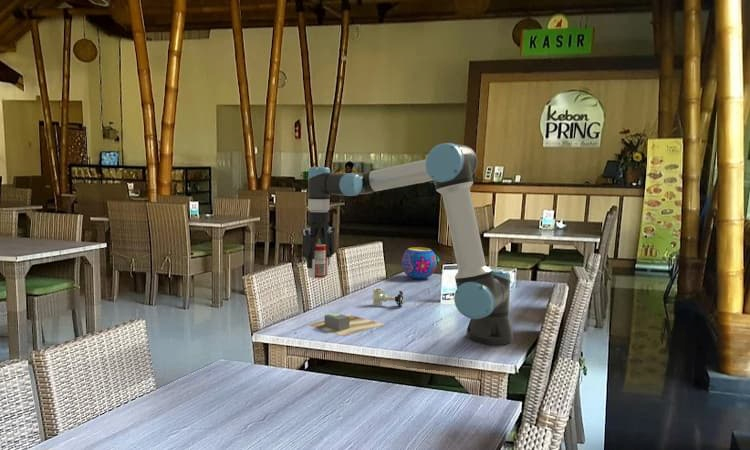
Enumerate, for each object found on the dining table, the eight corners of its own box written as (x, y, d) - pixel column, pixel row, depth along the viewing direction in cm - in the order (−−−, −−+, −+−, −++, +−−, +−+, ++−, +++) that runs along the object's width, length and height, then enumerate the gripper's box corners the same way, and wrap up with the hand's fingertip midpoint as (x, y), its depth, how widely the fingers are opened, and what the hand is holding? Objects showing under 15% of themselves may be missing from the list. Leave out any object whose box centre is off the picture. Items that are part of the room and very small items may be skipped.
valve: (370, 306, 228) (399, 309, 225) (370, 290, 227) (400, 292, 224) (374, 303, 234) (403, 305, 231) (374, 287, 233) (403, 289, 231)
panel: (385, 327, 199) (385, 324, 198) (343, 339, 184) (343, 336, 184) (348, 317, 211) (348, 314, 211) (307, 328, 196) (307, 324, 196)
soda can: (317, 275, 207) (317, 242, 205) (329, 276, 204) (329, 243, 202) (307, 277, 202) (307, 243, 201) (319, 279, 199) (319, 245, 198)
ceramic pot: (443, 280, 284) (444, 250, 283) (413, 283, 275) (414, 252, 274) (423, 273, 299) (424, 245, 298) (394, 276, 290) (395, 247, 289)
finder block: (349, 328, 193) (349, 315, 192) (338, 331, 189) (338, 318, 189) (335, 324, 197) (335, 311, 197) (324, 326, 194) (324, 314, 193)
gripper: (331, 209, 210) (330, 271, 212) (291, 211, 196) (290, 277, 199) (345, 210, 204) (344, 274, 207) (304, 213, 191) (304, 281, 194)
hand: (318, 275), depth 203 cm, fingers closed on soda can, 6 cm apart
